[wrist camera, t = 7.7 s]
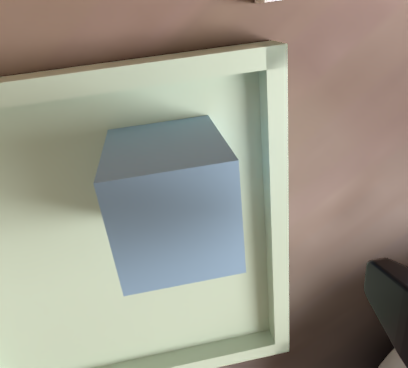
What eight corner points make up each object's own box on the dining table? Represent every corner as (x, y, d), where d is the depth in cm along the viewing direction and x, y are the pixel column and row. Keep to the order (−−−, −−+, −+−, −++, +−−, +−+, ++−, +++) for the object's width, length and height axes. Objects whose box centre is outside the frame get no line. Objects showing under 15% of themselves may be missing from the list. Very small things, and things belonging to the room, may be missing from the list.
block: (207, 115, 14) (238, 160, 10) (216, 201, 16) (246, 272, 12) (107, 129, 14) (93, 183, 10) (127, 216, 16) (123, 296, 11)
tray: (270, 40, 14) (287, 43, 13) (278, 326, 21) (289, 351, 20) (-160, 98, 13) (-203, 110, 11) (0, 386, 20) (-12, 418, 18)
